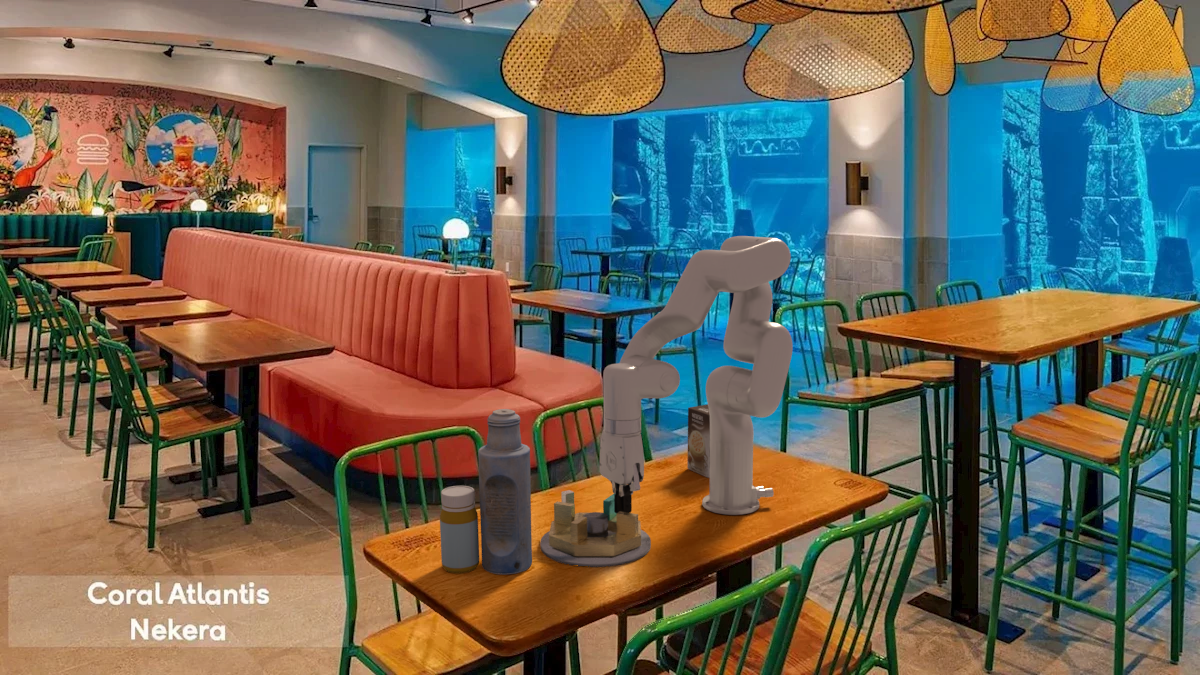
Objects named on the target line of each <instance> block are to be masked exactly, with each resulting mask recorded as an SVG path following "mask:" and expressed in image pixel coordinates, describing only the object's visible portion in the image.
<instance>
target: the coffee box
mask: <svg viewBox="0 0 1200 675" xmlns="http://www.w3.org/2000/svg"><path fill="white" fill-rule="evenodd" d="M686 468H687V469H688V470H690V471H693V472H694V473H697V474H698V475H701V476H703V477H705V478H708V479H710V415H709V407H708V403H707V404H702V405H696V406H690V407H688V408H687V467H686Z"/></svg>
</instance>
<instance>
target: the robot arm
mask: <svg viewBox="0 0 1200 675" xmlns="http://www.w3.org/2000/svg"><path fill="white" fill-rule="evenodd" d="M791 255H792V254H791V251H790V248H789V247H788V245H787V244H786V242H784V241H783V240H782V239H779V238H777V237H764V236H748V235H737V236H731V237H728V238H726V239H725V240H724V241H723V243H722V244H721V246H720V249H702V250H699V251H697V252H695V253H694V254H693V255H692V256H691V258H690V259H689V261H688V263H687V264H686V266H685V268H684V271H683V272H682V273H681V276H680V278H679V280H678V281H677V284H676V286H675V288H674V290H673V292H672V293H671V296H669V299H668V301H667V303H666V305H665V306H664V308H663V309H662V310H661V311H660V312H658V313H657V314H656V315H654V316H653V317H652V318H651V319H650V320H648V321H647V322H646V323H644V325H643V326H642V327H640V329H638V330H637V331H636V333H635V334H634V335H633V337H632V338H631V340H629V342H628V345H627V347H626V348H625V350H624V352H623V354H622V356H621V358H620V361H619V362H618V363H611V364H608V365H607V366H606V367H604V370H603V376H602V378H603V381H602V382H603V388H602V389H603V391H602V392H603V429H602V433H601V436H600V437H601V438H600V449H599V474H600V475H601V476H603V478H605V479H607V480H608V481H609V482H610V483H611V488H612V493H613V494H614V512H615V513H618V512H619V511H621V512H627V513H632V509H633V508H632V507H633V506H632V505H633V504H632V498H633V497H632V495H634V492H637V491H638V492H639V491H640V490H641V482H643V481H644V476H645V458H644V447H643V440H642V434H641V433H642V400H644V399H663V398H667V397H670V396H672V395H673V394H674V393H675V392H676V391H678V390H677V389H678V387H679V386H680V381H681V379H680V373H679V371H678V370H677V368H676V367H675V366H674V365H672V364H671V363H668V362H667V361H663V360H659V359H655V357H656V355H657V354H658V353H659V351H660V350H661V349H662V348H663V347H665V345H667V344H668V343H670V342H671V341H674V340H675V339H678V338H680V337H683V336H686V335H688V334H691V333H693V332H695V331H697V330H699V329H700V328H701V327H702V326H703V324H704V322H705V320H706V318H707V316H708V313H709V312H710V310H711V308H712V306H713V305H714V302H715V300H716V298H717V296H718V294H719V293H720V292H725V293H730V294H731V293H732V294H733V300H732V304H731V309H730V314H729V315H728V320H727V325H726V329H725V334H724V338H723V351H724V353H725V354H726V356H728V357H729V358H730V359H733V360H735V361H739V362H742V363H748V364H752V365H753V366H752V369H748V368H744V367H739V366H736V365H735V366H734V365H722V366H720V367H717V368H715V369H714V370H712V371H711V372H710V373H709V375H708V377H707V379H706V383H705V396H706V402H707V404H708V407H709V415H710V477H709V494H708V495H705V496H704V497H703V498H702V502H701V503H702V504H701V505H702V506H703V508H704V509H705V510H707V511H709V512H712V513H715V514H720V515H728V516H738V515H746V514H747V515H748V514H752V513H754V512H756V511H757V510H759V508H760V501H759V500H760V499H761V498H771V497H774V494H775V493H774V489H773V487H769V488H764V486H763V485H761V486H754V485H753V484H754V483H753V482H754V481H753V478H754V476H753V470H754V468H753V467H754V460H753V459H754V425H753V421H752V418H751V417H754V418H755V417H756V418H767V417H770V416H771V415H773V414H774V413H775V411H776V410H777V408H778V407H779V405H780V403H781V401H782V396H783V393H784V389H785V385H786V382H787V377H788V372H789V368H790V365H791V364H790V363H791V360H792V355H793V348H794V347H793V339H792V335H791V334H790V331H789V330H788V329H787V328H786V327H785V326H783V325H782V324H780V323H778V322H772V321H770V316H771V310H772V306H773V305H772V304H773V292H772V291H773V290H772V288H771V285H770V282H772V281H775V280H777V279H778V278H781V276H783V274H785V273H786V271H787V270H788V268H789V266H790V263H791V260H792V259H791V258H792V256H791Z"/></svg>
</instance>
